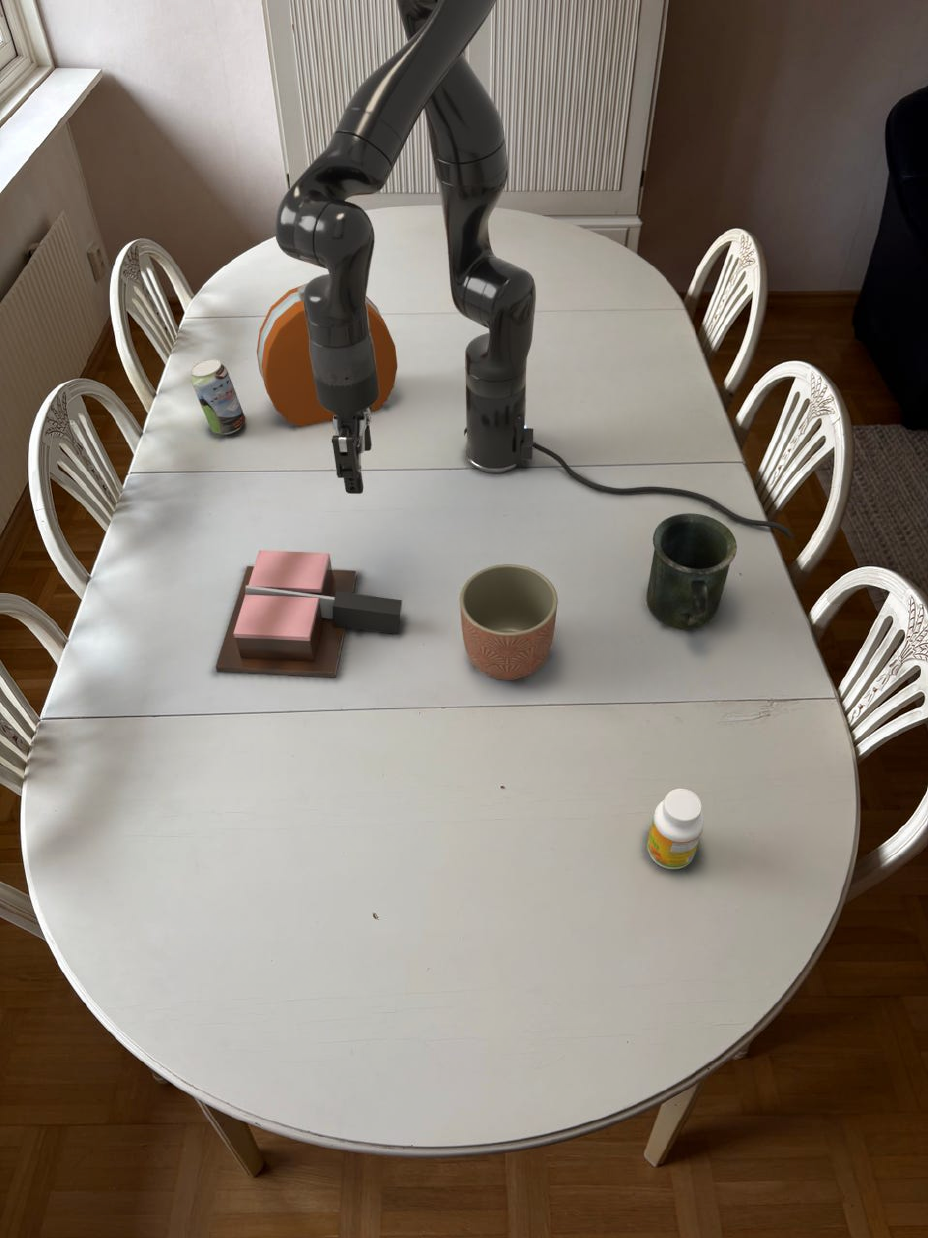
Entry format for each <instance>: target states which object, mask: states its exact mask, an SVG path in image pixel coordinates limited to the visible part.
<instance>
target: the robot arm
mask: <svg viewBox="0 0 928 1238" xmlns="http://www.w3.org/2000/svg"><path fill="white" fill-rule="evenodd" d="M395 1H396V5H397V6H396V7H397V9H398V12H399V16H400V21H401V23H402V26H403V31H404V34H405V38H406V41H407V43H405V44H404V45H403V46H402V47H401V48H400V49H399V50H397V51H396V52H395V53H394V54H393V55H392V56H391V57H389V58H388V59H387V60H385V62H383V63H382V64H381V65H379V67H377V68H376V69H375V70H374V71H373V72H372V73H370V75H368V77H367V78H365V80H364V81H363V82H362V83H361V84H360V85H359V87H358V88H357V89H356V90H355V92H354V93H353V94H352V96H351V98H350V100H349V101H348V102H347V105H346V107H345V109H344V110H343V113H342V114H341V117H340V119H339V121H338V123H337V125H336V127H335V130H334V132H333V133H332V136H331V138H330V140H329V142H328V144H327V145H326V147H325V148H324V150H322V151H321V153H320V154H319V155H318V156H317V157H316V158H315V159H314V160H313V161H311V162H312V163H310V165H309V166H308V167H307V168H306V169H305V171H304V172H302V174H301V175H300V176H299V177H298V178H297V179H296V180H295V182H294V183H293V184H292V185H291V186H290V188H289V189H288V190H287V191H286V193H285V194H284V196H283V198H282V199H281V201H280V203H279V206H278V209H277V211H276V215H275V219H274V235H275V240H276V243H277V245H278V247H279V248H280V250H281V251H282V252H283V254H285V255H286V256H288V257H290V258H292V259H294V260H297V261H300V262H304V263H308V264H310V265H313V266H317V267H320V268H323V269H325V270H327V271H328V273H326V274H321V275H318V276H316V277H314V278H313V279H311V280H310V281H309V282H307V283H308V284H307V283H306V284H307V285H306V287H305V289H304V293H303V304H304V311H305V316H306V322H307V328H308V333H309V352H310V358H311V364H312V369H313V376H314V381H315V387H316V393H317V398H318V401H319V403H320V404H321V406H322V407H323V408H325V409H326V410H328V411H330V412H332V413H333V414H335V415H334V416H333V420H332V426H333V430H334V432H335V433H334V434H335V435H332V437H331V443H332V450H333V456H334V463H335V470H336V476H337V478H339V479H343V481H344V488H345V492H346V493H347V494H350V495H351V494H352V495H354V494H355V495H356V494H357V495H361V494H363V492H364V482H363V481H364V480H363V473H362V469H363V468H362V454H363V453H364V452H370V451H371V450H372V445H373V443H372V436H371V430H370V425H371V422H372V417H371V416H372V415H371V414H372V412H371V410H372V405H373V404H374V403H375V402H376V400H377V398H378V396H379V385H378V377H377V369H376V360H375V352H374V344H373V340H372V336H371V333H370V328H369V319H368V311H367V304H366V296H367V292H368V285H369V279H370V270H371V266H372V260H373V255H374V250H375V242H376V240H375V238H376V236H375V230H374V226H373V223H372V221H371V218H370V216H369V215H368V213H367V211H365V210H364V208H363V207H361V206H359V205H358V204H356V203H354V202H351V201H347V200H348V199H350V198H352V197H357V196H369V195H375V194H378V193H379V192H380V191H382V190H383V188H385V187H384V186H385V185H386V184H387V181H388V180H389V178H390V176H391V173H392V172H393V169H394V167H395V165H396V163H397V162H398V159H399V157H400V155H401V152H402V151H403V149H404V147H405V145H406V143H407V140H408V138H409V136H410V134H411V132H412V130H413V128H414V126H415V125H416V123H417V121H418V119H419V118H420V116H421V114H422V113H423V111H424V115H425V120H426V126H427V132H428V139H429V147H430V151H431V158H432V163H433V168H434V169H433V170H434V174H435V179H436V182H437V187H438V191H439V195H440V196H439V197H440V202H441V209H442V216H443V223H444V228H445V236H446V245H447V257H448V274H449V286H450V293H451V298H452V302H453V304H454V307H455V308H456V310H457V311H458V313H460V314H461V315H462V316H463V317H464V318H466V319H468V320H470V321H472V322H474V323H476V324H478V325H480V326H482V327H484V328H487V329H488V332H487V333H483V334H480V335H478V336H475V337H474V338H473V339H471V341H469V343H468V344H467V345H466V347H465V351H464V370H465V372H464V373H465V377H464V378H465V412H466V413H465V418H466V419H465V420H466V421H465V423H466V426H465V428H464V430H463V435H464V437H465V436H466V450H465V451H466V459H467V461H468V462H469V464H470V465H471V466H472V467H474V468H475V469H477V470H478V471H481V472H486V473H490V474H491V473H492V474H499V473H506V472H509V471H511V470H512V471H513V470H515V469H516V468H524V460H525V461H527V460H529V461H531V460H532V461H533V451H534V450H533V449H535V450H537V451H540V452H541V453H543V454H546V455H547V456H549V457H551V458H552V459H554V460H555V461H557V463H558V464H559V465H560V466H561V467H562V468H563V470H564V471H565V472H566V473H567V474H568V475H570V476H571V477H572V478H574V479H575V480H576V481H578V482H580V483H582V484H584V485H585V486H587V487H590V488H592V489H594V490H598V491H601V492H605V493H610V494H611V493H612V494H619V495H622V494H623V495H625V494H637V493H638V494H639V493H665V494H673V495H680V496H686V497H690V498H693V499H696V500H699V501H702V502H705V503H707V504H709V505H711V506H713V507H714V508H716V509H718V510H719V511H720V512H721V513H723V514H724V515H726V516H727V517H729V518H731V519H733V520H734V521H737V522H739V523H741V524H744V525H750V526H754V527H755V526H756V527H765V528H771V529H775V530H778V531H779V532H781V533H783V535H784V536H785V537H787V538H789V539H792V538H794V535H793V533H792V532H791V530H790V529H788V528H787V527H786V526H784V525H782V524H780V523H778V522H775V521H770V520H769V521H768V520H758V519H751V518H746V517H744V516H741V515H739V514H737V513H734V512H733V511H731V510H730V509H729V508H727V507H726V506H724V505H723V504H721V503H719V502H718V501H716V500H714V499H713V498H711V497H708V496H706V495H704V494H701V493H697V492H695V491H690V490H686V489H680V488H674V487H665V486H664V487H663V486H639V487H638V486H637V487H627V488H625V487H623V488H622V487H621V488H620V487H611V486H606V485H602V484H599V483H596V482H593V481H591V480H589V479H587V478H585V477H583V476H581V475H580V474H578V473H577V472H576V471H574V470H573V469H572V468H571V467H570V466H569V465H568V464H567V462H566V461H565V460H564V459H563V457H561V456H560V455H559V454H557V453H556V452H554V451H553V450H551V449H549V448H547V447H545V446H543V445H541V444H539V443H537V442H536V441H534V428H530V427H529V428H527V425H526V412H527V411H526V410H527V409H526V407H527V399H526V398H527V395H526V394H527V365H528V356H529V353H530V349H531V346H532V343H533V334H534V323H535V314H536V303H537V288H536V284H535V280H534V277H533V276H532V274H531V273H530V272H529V271H527V270H525V268H522V267H519V266H517V265H515V264H513V263H511V262H509V261H506V260H505V259H501V258H499V257H497V256H496V255H495V253H494V251H493V249H492V245H491V241H490V233H489V221H490V220H489V219H490V216H491V215H492V213H493V211H494V209H495V207H496V206H497V204H498V202H499V200H500V198H501V197H502V194H503V192H504V189H505V187H506V184H507V181H508V176H509V175H508V173H509V172H508V171H509V165H508V154H507V147H506V138H505V137H506V136H505V131H504V125H503V122H502V118H501V115H500V113H499V110H498V109H497V106H496V105H495V102H494V101H493V99H492V97H491V96H490V95H489V93H488V91H487V89H486V88H485V86H484V85H483V83H482V82H481V79H480V78H479V76H477V74H476V73H475V71H474V70H473V68H472V67H471V64H470V63H469V62H468V60H467V58H466V56H465V55H464V51H465V50H466V49H467V47H468V46H469V44H470V43H471V42H472V40H473V39H474V37H475V36H476V34H477V33H478V32H479V30H480V29H481V27H482V26H483V25H484V23H485V21H487V18H488V17H489V15H490V13H491V12H492V10H493V8H494V6H495V4H496V2H497V0H395Z"/></svg>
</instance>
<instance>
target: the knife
mask: <svg viewBox="0 0 928 1238" xmlns="http://www.w3.org/2000/svg"><path fill="white" fill-rule="evenodd" d="M245 590H246V595H264V596H287V597H310V598H319V603H320V608H321V614H322V618H329V619H333V620H332V625H333V626H341V627H346V628H348V629H356V630H363V631H371V632H377V633H379V632H380V633H387V634H392V635H398V633H399V628H400V622H401V613H402V604H403V600H402V599H398V598H397V599H396V598H392V597H391V598H390V597H382V596H376V595H375V596H374V595H367V594H361V593H355V592H353V593H347V592H339V591H336V594H335V597H329V596H322V595H314V594H307V593H300V592H292V591H285V590H278V589H270V588H263V587H256V586H248V585H246V587H245Z"/></svg>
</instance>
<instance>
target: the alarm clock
mask: <svg viewBox="0 0 928 1238" xmlns="http://www.w3.org/2000/svg"><path fill="white" fill-rule="evenodd" d="M308 283H309V282H307V283H304V284H302V285H299V286H296V287H294V288H291V289H289V290H288V291H287V292H286V293H284V294H283V295H282V296H281V297H280V298H279V299H278V300H277V301H276V302H274V303H273V304H272V305H271V306H270V308H269V310H268V311H267V314H266V316H265V318H264V320H263V322H262V324H261V326H260V328H259V333H258V341H257V347H256V356H257V357H256V358H257V363H258V370H259V373H260V377H261V379H262V380H263V385H264V388H265V391H266V393H267V395H268V397H269V399H270V401H271V403H272V405H273V407H274V408H275V411H277V412H278V413H279V414H280V415H281V416H282V417H283V418H284V419H285V420H286V421H287V422H289V423H290V424H293V425H294V426H297V427H306V426H312V425H315V424H320V423H325V422H329V421H333V416H334V415H335V414H333V413H332V412H330V411H328V410H326V409H325V408H323V407H322V406H321V404H320V403H319V401H318V398H317V393H316V387H315V381H314V376H313V369H312V364H311V358H310V352H309V333H308V328H307V322H306V316H305V311H304V304H303V293H304V289H305V287H306V285H307V284H308ZM366 304H367V311H368V319H369V328H370V333H371V336H372V340H373V344H374V352H375V360H376V369H377V377H378V385H379V396H378V398H377V400H376V402H375V403H374V404H373V405H372V410H371V413H372V412H376V411H378V410H380V409H381V408H382V406H383V405H384V404H385V403H386V402H387V401H388V399H389V397H390V395H391V393H392V391H393V390H394V387H395V381H396V377H397V372H398V357H397V349H396V345H395V342H394V340H393V338H392V335H391V333H390V331H389V328H388V326H387V324H386V322H385V320H384V318H383V317H382V315H381V313H380V310H379V308H378V307H377V305H376V304H375V303H374V302H373V301H372V300H371V299H370V298H369V297H368V296H367V295H366Z"/></svg>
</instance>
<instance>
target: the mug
mask: <svg viewBox="0 0 928 1238" xmlns="http://www.w3.org/2000/svg"><path fill="white" fill-rule="evenodd" d="M652 545H653V548H654V549H653V553H652V554H653V555H652V560H651V567H650V572H649V577H648V578H649V579H648V584H647V589H646V596H645V597H646V598H645V599H646V603H647V606H648V609H649V610H650V612H651V613H652V614H653V615H654V617H656V619H658V620H659V621H660V622H661V623H664V625H665V624H666V625H668V626H670V627H673V628H676V629H683V630H684V629H685V630H686V629H687V630H690V629H697V628H700V627H703V626H704V625H707V624H708V623H710V622H711V621H713V619H714V618H715V617H716V616H717V614H718V612H719V609H720V604H721V601H722V597H723V593H724V589H725V585H726V581H727V577H728V573H729V570H730V566H731V563H733V560H734V559H735V557H736V555H737V551H738V544H737V541H736V537H735V535H734V534H733V532H732V531H731V529H729V527H727V525H725V524H724V523H723V522H721V521H720V520H718V519H716V518H714V517H711V516H709V515H705V514H701V513H693V512H691V513H690V512H689V513H688V512H687V513H679V514H674V515H671V516H669V517H667V518H665V519H664V520H662V521H661V522H660V523H658V525H657V526H656V528H655V530H654V532H653V535H652Z"/></svg>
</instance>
